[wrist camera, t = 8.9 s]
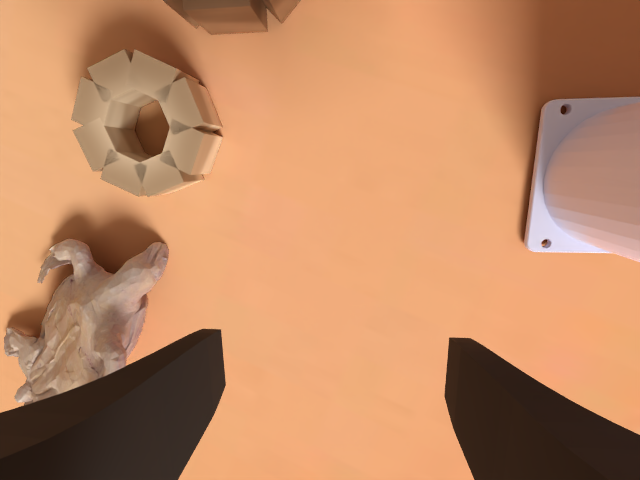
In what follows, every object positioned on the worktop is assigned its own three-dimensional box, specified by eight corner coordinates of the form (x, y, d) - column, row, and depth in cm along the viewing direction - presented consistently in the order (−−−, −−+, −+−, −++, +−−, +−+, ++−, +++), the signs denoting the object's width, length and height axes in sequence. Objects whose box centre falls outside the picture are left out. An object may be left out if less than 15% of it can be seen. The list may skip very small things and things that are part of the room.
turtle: (134, 392, 28) (85, 525, 19) (-1, 377, 25) (-134, 527, 16) (180, 228, 24) (144, 301, 15) (25, 186, 21) (-136, 246, 12)
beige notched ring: (189, 46, 19) (164, 28, 16) (238, 166, 20) (222, 166, 17) (88, 96, 20) (50, 86, 17) (140, 205, 21) (112, 211, 19)
